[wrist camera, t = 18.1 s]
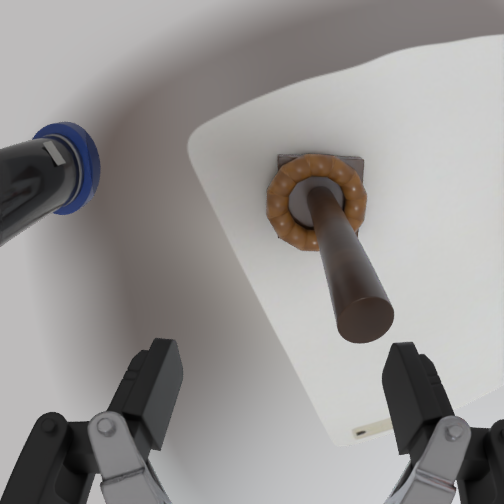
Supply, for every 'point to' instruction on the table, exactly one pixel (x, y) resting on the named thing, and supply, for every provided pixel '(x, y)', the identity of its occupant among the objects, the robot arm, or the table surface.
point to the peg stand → (342, 256)
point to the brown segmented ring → (301, 171)
